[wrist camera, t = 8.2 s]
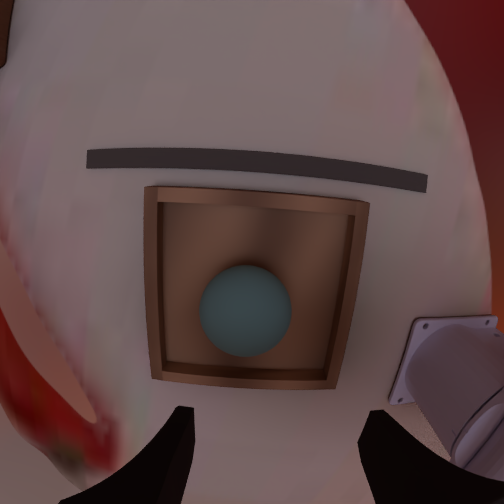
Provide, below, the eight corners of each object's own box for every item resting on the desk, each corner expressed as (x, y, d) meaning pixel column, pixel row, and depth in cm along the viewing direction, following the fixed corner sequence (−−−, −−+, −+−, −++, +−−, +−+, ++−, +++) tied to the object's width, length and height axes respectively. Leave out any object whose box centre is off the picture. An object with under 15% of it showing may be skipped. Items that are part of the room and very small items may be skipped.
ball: (295, 259, 19) (298, 287, 14) (286, 334, 20) (285, 379, 15) (211, 251, 19) (187, 276, 14) (209, 326, 20) (188, 367, 15)
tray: (359, 200, 19) (369, 202, 17) (329, 374, 22) (335, 389, 20) (153, 185, 18) (144, 186, 17) (158, 364, 21) (151, 378, 20)
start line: (425, 174, 18) (427, 174, 18) (423, 192, 18) (426, 193, 18) (89, 150, 18) (87, 150, 17) (88, 168, 18) (86, 168, 18)
